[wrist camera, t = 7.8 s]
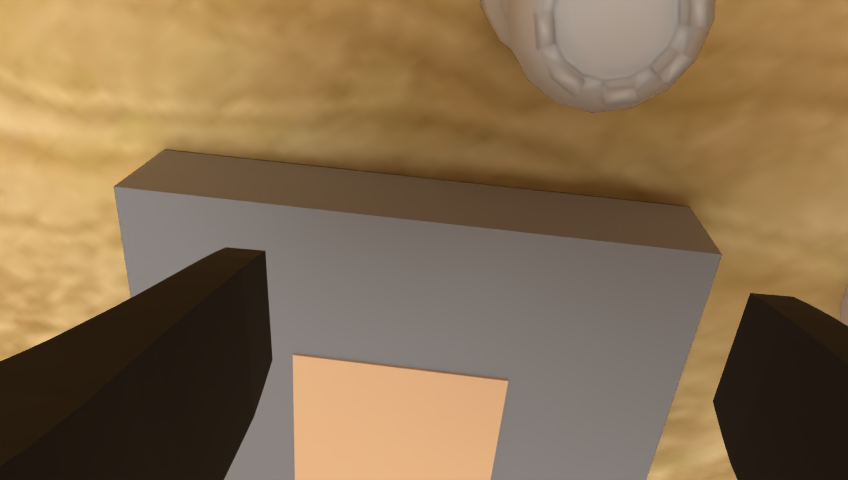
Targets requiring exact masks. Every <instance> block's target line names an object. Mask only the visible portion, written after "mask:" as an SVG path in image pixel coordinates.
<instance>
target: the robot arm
mask: <svg viewBox="0 0 848 480" xmlns="http://www.w3.org/2000/svg"><path fill="white" fill-rule="evenodd" d="M272 360H273V359H272V344H271V328H270V313H269V298H268V283H267V268H266V252H265V251H263V250H251V249H240V248H229V247H225V248H223V249H221V250H219V251H216V252H214V253H212V254H210V255H208V256H206V257H204V258H202V259H201V260H199V261H197V262H195V263H193V264H191V265H190V266H188V267H186V268H184V269H182V270H181V271H179V272H177V273H175V274H173V275H172V276H170V277H168V278H166V279H165V280H163V281H161V282H159V283H157V284H155V285H154V286H152V287H150V288H148V289H146V290H145V291H143V292H141V293H139V294H137V295H136V296H134V297H132V298H130V299H128V300H126V301H125V302H123V303H121V304H119V305H117V306H115V307H113V308H111V309H109V310H107V311H105V312H103V313H101V314H99V315H97V316H95V317H93V318H91V319H89V320H87V321H85V322H84V323H82V324H80V325H78V326H76V327H74V328H72V329H70V330H68V331H66V332H64V333H62V334H60V335H58V336H56V337H54V338H52V339H50V340H47V341H45V342H43V343H41V344H39V345H37V346H34V347H32V348H30V349H28V350H26V351H23V352H21V353H19V354H16V355H14V356H12V357H10V358H7V359H5V360H3V361H0V480H224V479H225V477H226V475H227V472H228V470H229V468H230V466H231V464H232V462H233V460H234V458H235V456H236V454H237V452H238V450H239V447H240V445H241V443H242V441H243V439H244V437H245V435H246V433H247V431H248V429H249V426H250V424H251V422H252V420H253V418H254V415H255V412H256V409H257V407H258V404H259V401H260V398H261V395H262V392H263V389H264V385H265V382H266V379H267V376H268V373H269V369H270V366H271V363H272ZM713 403H714V407H715V411H716V415H717V418H718V422H719V426H720V430H721V433H722V437H723V440H724V443H725V447H726V450H727V453H728V456H729V460H730V463H731V465H732V468H733V470H734V472H735V475H736V477H737V479H738V480H848V285H847V288H846V291H845V294H844V297H843V300H842V303H841V314H840V321H838V320H836V319H835V318H833V317H831V316H830V315H828V314H826V313H824V312H822V311H821V310H819V309H817V308H815V307H813V306H811V305H809V304H807V303H805V302H803V301H801V300H799V299H797V298H794V297H789V296H777V295H766V294H754V293H750V296H749V298H748V301H747V304H746V307H745V310H744V313H743V316H742V319H741V322H740V324H739V327H738V330H737V333H736V336H735V339H734V342H733V345H732V348H731V351H730V353H729V356H728V359H727V362H726V365H725V368H724V371H723V374H722V377H721V379H720V382H719V385H718V388H717V391H716V394H715V397H714V400H713Z"/></svg>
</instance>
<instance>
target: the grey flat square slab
mask: <svg viewBox="0 0 848 480" xmlns="http://www.w3.org/2000/svg"><path fill="white" fill-rule="evenodd" d="M114 192H115V198H116V204H117V211H118V217H119V224H120V230H121V237H122V243H123V250H124V256H125V263H126V269H127V276H128V282H129V289H130V295H131V298H132V297H134V296H136V295H137V294H139V293H141V292H143V291H145V290H146V289H148V288H150V287H152V286H154V285H155V284H157V283H159V282H161V281H163V280H165V279H166V278H168V277H170V276H172V275H173V274H175V273H177V272H179V271H181V270H182V269H184V268H186V267H188V266H190V265H191V264H193V263H195V262H197V261H199V260H201V259H202V258H204V257H206V256H208V255H210V254H212V253H214V252H216V251H219V250H221V249H223V248H225V247H229V248H240V249H251V250H263V251H265V252H266V268H267V283H268V298H269V313H270V328H271V344H272V359H273V360H272V363H271V366H270V369H269V373H268V376H267V379H266V382H265V385H264V389H263V392H262V395H261V398H260V401H259V404H258V407H257V409H256V412H255V415H254V418H253V420H252V422H251V424H250V426H249V429H248V431H247V433H246V435H245V437H244V439H243V441H242V443H241V445H240V447H239V450H238V452H237V454H236V456H235V458H234V460H233V462H232V464H231V466H230V468H229V470H228V472H227V475H226V477H225V479H224V480H646V478H647V476H648V473H649V470H650V467H651V464H652V461H653V458H654V455H655V452H656V449H657V446H658V443H659V440H660V437H661V434H662V431H663V428H664V425H665V422H666V419H667V416H668V413H669V410H670V407H671V404H672V401H673V399H674V396H675V393H676V390H677V387H678V384H679V381H680V378H681V375H682V372H683V369H684V366H685V363H686V360H687V357H688V354H689V351H690V348H691V345H692V342H693V339H694V336H695V333H696V330H697V327H698V324H699V322H700V319H701V316H702V313H703V310H704V307H705V304H706V301H707V298H708V295H709V292H710V289H711V286H712V283H713V280H714V277H715V274H716V271H717V268H718V265H719V262H720V259H721V256H722V254H721V252H720V251H719V249H718V248H717V246H716V245H715V244H714V242H713V241H712V239H711V238H710V236H709V235H708V233H707V232H706V230H705V229H704V228H703V226H702V225H701V223H700V222H699V220H698V219H697V217H696V216H695V214H694V213H693V212H692V210H691V209H690V207H686V206H677V205H668V204H658V203H649V202H640V201H631V200H622V199H613V198H603V197H594V196H585V195H576V194H567V193H557V192H548V191H539V190H530V189H521V188H511V187H502V186H493V185H484V184H475V183H466V182H456V181H447V180H438V179H429V178H420V177H410V176H401V175H392V174H383V173H374V172H365V171H355V170H346V169H337V168H328V167H319V166H309V165H300V164H291V163H282V162H273V161H264V160H254V159H245V158H236V157H227V156H218V155H208V154H199V153H190V152H181V151H172V150H163V151H162V152H160V153H159V154H158V155H156V156H155V157H154V158H152V159H151V160H150V161H148V162H147V163H145V164H144V165H143V166H141V167H140V168H139V169H137V170H136V171H134V172H133V173H132V174H130V175H129V176H128V177H126V178H125V179H123V180H122V181H121V182H119V183H118V184H117V185H115V186H114Z"/></svg>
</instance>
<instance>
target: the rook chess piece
mask: <svg viewBox="0 0 848 480" xmlns="http://www.w3.org/2000/svg"><path fill="white" fill-rule="evenodd" d="M480 4H481V8H482V10H483V11H484V13H485V15H486V17H487V19H488V21H489V23H490V25H491V27H492V29H493V30H494V32H495V34H496V36H497V37H498V39H499V41H500V42H502V43H503V44H504V45H505V46H507V47H508V48H509V49H510V50H512V51H513V53H514V54H515V56H516V58H517V60H518V62H519V64H520V66H521V68H522V70H523V72H524V74H525V76H526V77H527V79H528V81H530V82H531V83H532V84H533V85H535V86H536V87H537V88H538V89H540V90H541V91H542V92H543V93H545V94H546V95H547V96H548V97H550V98H551V99H552V100H553V101H555V102H556V103H558V104H562V105H565V106H569V107H573V108H576V109H580V110H584V111H587V112H591V113H595V112H604V111H612V110H621V109H629V108H632V107H634V106H636V105H638V104H640V103H642V102H644V101H646V100H648V99H650V98H652V97H654V96H656V95H658V94H660V93H662V92H664V91H666V90H667V89H668V88H669V87H670V86H671V85H672V84H673V83H674V82H675V81H676V80H677V79H678V78H679V77H680V76H681V75H682V74H683V73H684V72H685V70H686V69H687V68H688V67H689V66H690V65H691V64H692V63H693V62H694V61H695V60H696V59H697V57H698V55H699V52H700V50H701V48H702V46H703V43H704V41H705V39H706V37H707V34H708V32H709V30H710V28H711V25H712V23H713V21H714V15H715V0H480Z"/></svg>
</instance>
